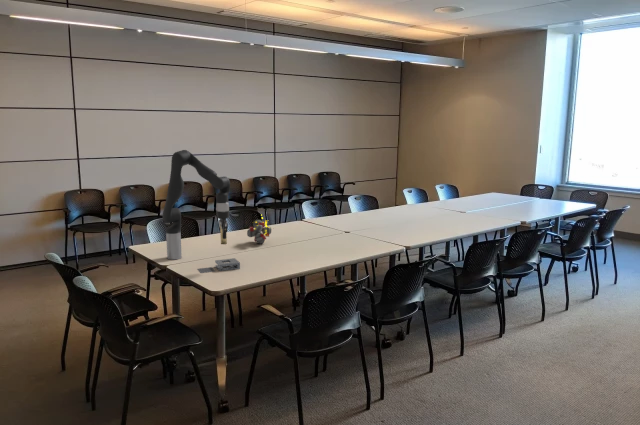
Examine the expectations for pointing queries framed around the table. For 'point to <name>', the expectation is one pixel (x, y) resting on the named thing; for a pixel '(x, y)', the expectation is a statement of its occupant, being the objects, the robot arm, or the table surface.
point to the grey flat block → (227, 264)
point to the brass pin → (223, 241)
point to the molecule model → (256, 231)
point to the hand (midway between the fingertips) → (223, 237)
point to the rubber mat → (206, 270)
